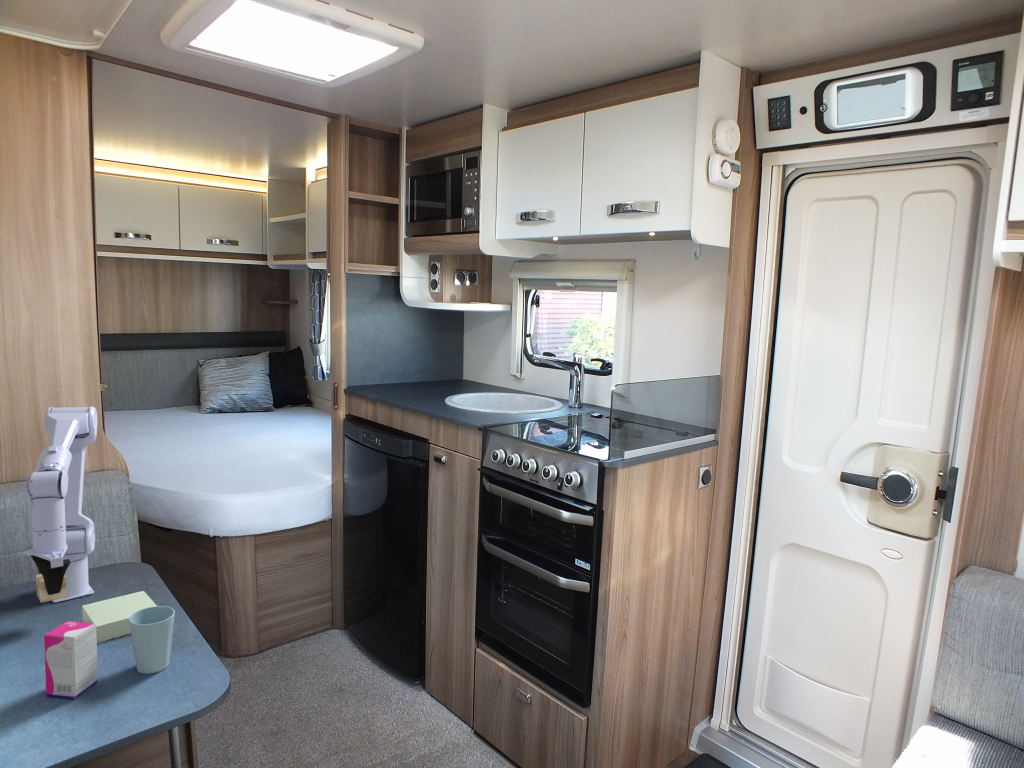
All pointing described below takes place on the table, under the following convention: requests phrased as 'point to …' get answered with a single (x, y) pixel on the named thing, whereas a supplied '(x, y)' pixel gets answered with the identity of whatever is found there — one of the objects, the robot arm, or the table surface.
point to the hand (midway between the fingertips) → (51, 589)
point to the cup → (152, 637)
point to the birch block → (42, 590)
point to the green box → (115, 614)
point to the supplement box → (70, 659)
